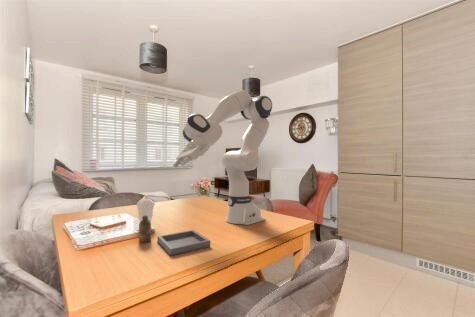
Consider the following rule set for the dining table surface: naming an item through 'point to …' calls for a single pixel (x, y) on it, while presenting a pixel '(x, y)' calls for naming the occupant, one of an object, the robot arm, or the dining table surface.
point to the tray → (183, 242)
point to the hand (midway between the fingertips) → (177, 165)
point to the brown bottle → (144, 230)
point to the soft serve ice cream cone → (145, 207)
